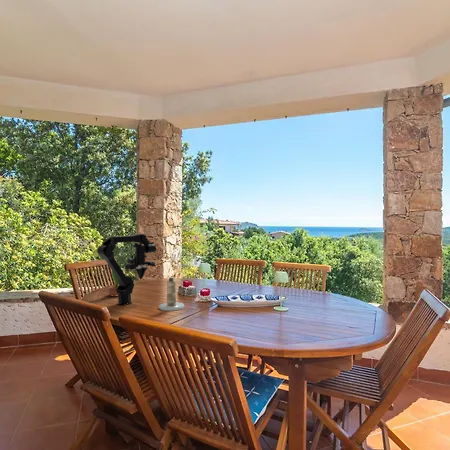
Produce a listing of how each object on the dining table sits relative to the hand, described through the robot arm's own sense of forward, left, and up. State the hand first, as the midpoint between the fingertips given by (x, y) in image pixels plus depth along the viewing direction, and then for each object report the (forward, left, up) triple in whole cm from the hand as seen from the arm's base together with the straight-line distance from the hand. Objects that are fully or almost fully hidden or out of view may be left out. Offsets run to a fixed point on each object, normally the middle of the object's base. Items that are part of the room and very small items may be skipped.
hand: (140, 279), depth 208 cm
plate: (-1, -29, -13) cm, 32 cm away
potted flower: (-2, +25, -13) cm, 28 cm away
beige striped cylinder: (-1, -29, -12) cm, 31 cm away
